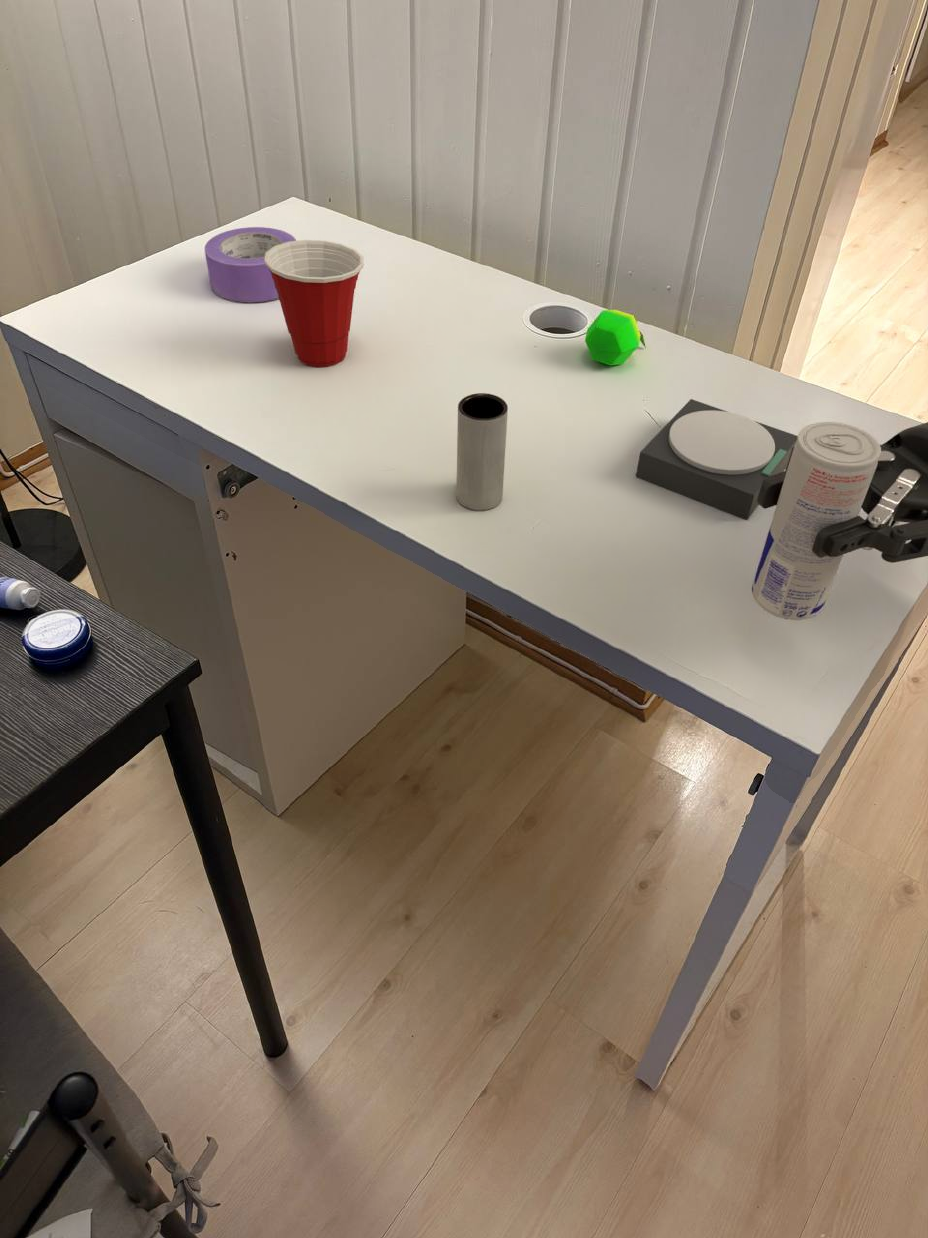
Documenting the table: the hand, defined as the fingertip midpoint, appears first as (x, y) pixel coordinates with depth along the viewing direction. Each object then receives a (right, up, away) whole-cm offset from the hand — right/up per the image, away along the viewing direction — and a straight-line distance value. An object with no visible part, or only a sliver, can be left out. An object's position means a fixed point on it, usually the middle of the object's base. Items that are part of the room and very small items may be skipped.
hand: (789, 519), depth 69 cm
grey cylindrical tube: (-22, +5, +25) cm, 34 cm away
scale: (+2, +8, +29) cm, 30 cm away
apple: (-6, +24, +45) cm, 51 cm away
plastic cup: (-40, +24, +44) cm, 64 cm away
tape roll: (-51, +37, +56) cm, 84 cm away
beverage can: (+2, -6, +7) cm, 10 cm away
